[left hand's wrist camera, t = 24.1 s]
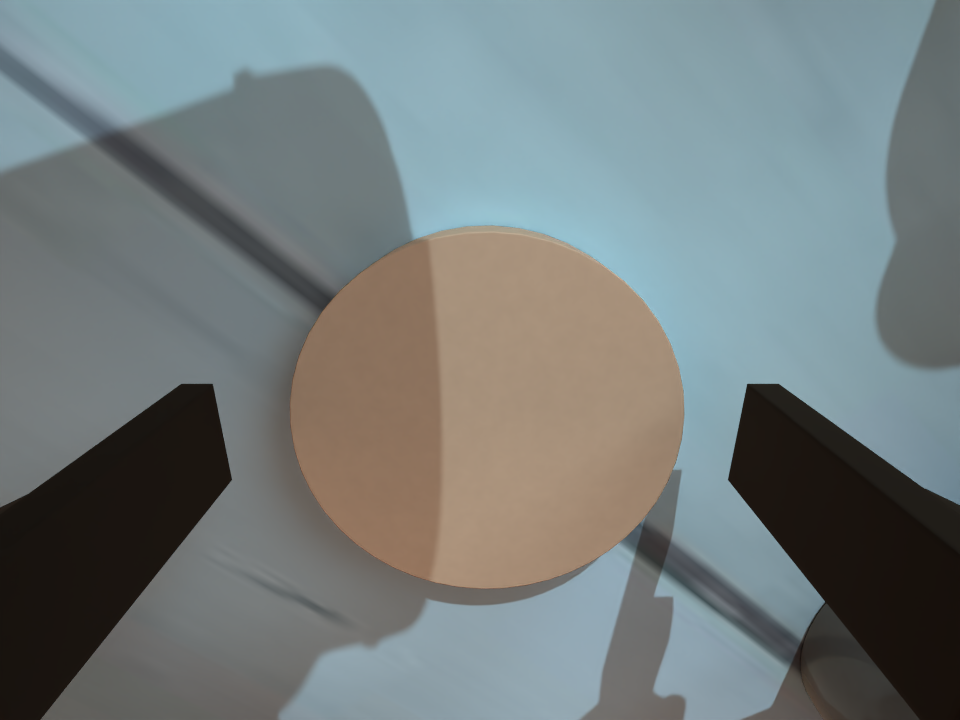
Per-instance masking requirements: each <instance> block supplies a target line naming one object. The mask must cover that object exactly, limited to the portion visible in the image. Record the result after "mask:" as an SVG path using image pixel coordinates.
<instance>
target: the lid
mask: <svg viewBox="0 0 960 720" xmlns="http://www.w3.org/2000/svg"><path fill="white" fill-rule="evenodd" d="M683 423H684V394H683V387H682V381H681V376H680V371H679V366H678V363H677V361H676V358H675V355H674V352H673V349H672V346H671V344H670V342H669V340H668V338H667V336H666V334H665V332H664V330H663V328H662V327H661V325H660V323H659V321H658V320H657V318H656V317H655V316H654V314H653V313H652V312H651V310H650V309H649V307H648V306H647V305H646V303H645V302H644V301H643V300H642V299H641V298H640V297H639V296H638V295H637V293H636V292H635V291H634V290H633V289H632V288H631V287H630V286H629V285H628V284H627V283H626V282H625V281H623V280H622V279H621V278H619V277H618V276H617V275H616V274H614V273H613V272H612V271H610V270H609V269H608V268H606V267H605V266H604V265H602V264H601V263H599V262H598V261H596V260H595V259H594V258H592V257H591V256H589V255H587V254H586V253H584V252H582V251H580V250H578V249H577V248H575V247H573V246H571V245H569V244H568V243H565V242H563V241H560V240H558V239H555V238H552V237H550V236H547V235H545V234H541V233H537V232H533V231H529V230H524V229H520V228H513V227H502V226H467V227H461V228H455V229H450V230H444V231H440V232H436V233H433V234H430V235H427V236H424V237H421V238H418V239H415V240H413V241H411V242H409V243H407V244H405V245H403V246H401V247H399V248H396V249H394V250H393V251H391V252H390V253H388V254H387V255H385V256H384V257H382V258H381V259H379V260H378V261H376V262H375V263H373V264H372V265H370V266H369V267H368V268H366V269H365V270H363V271H362V272H361V273H359V274H358V275H357V276H356V277H355V278H354V279H353V280H351V281H350V282H349V283H348V284H347V285H346V286H345V287H343V288H342V289H341V290H340V291H339V292H338V293H337V295H336V296H335V297H334V298H333V299H332V300H331V302H330V303H329V304H328V305H327V306H326V308H325V309H324V310H323V311H322V313H321V314H320V316H319V317H318V319H317V321H316V322H315V324H314V325H313V327H312V329H311V330H310V332H309V334H308V336H307V338H306V341H305V343H304V345H303V347H302V350H301V352H300V354H299V357H298V361H297V365H296V368H295V372H294V376H293V380H292V388H291V397H290V426H291V432H292V438H293V444H294V449H295V452H296V456H297V459H298V462H299V465H300V468H301V471H302V473H303V475H304V477H305V479H306V481H307V484H308V486H309V488H310V490H311V492H312V493H313V495H314V496H315V498H316V499H317V501H318V503H319V504H320V506H321V507H322V509H323V510H324V511H325V513H326V514H327V515H328V516H329V517H330V518H331V520H332V521H333V522H334V523H335V524H336V525H337V527H338V528H339V529H340V530H341V531H343V532H344V533H345V534H346V535H347V536H348V537H349V538H350V539H351V540H352V541H353V542H354V543H356V544H357V545H359V546H360V547H361V548H363V549H364V550H365V551H367V552H368V553H370V554H371V555H372V556H374V557H376V558H377V559H379V560H381V561H383V562H385V563H386V564H388V565H390V566H392V567H394V568H396V569H398V570H401V571H403V572H405V573H408V574H410V575H412V576H415V577H419V578H422V579H425V580H429V581H432V582H435V583H440V584H446V585H451V586H456V587H466V588H478V589H489V588H508V587H516V586H524V585H529V584H533V583H538V582H542V581H546V580H549V579H552V578H555V577H558V576H561V575H564V574H566V573H569V572H571V571H573V570H575V569H578V568H580V567H582V566H584V565H586V564H588V563H590V562H592V561H593V560H595V559H596V558H598V557H600V556H601V555H603V554H604V553H606V552H607V551H609V550H610V549H612V548H613V547H614V546H615V545H616V544H618V543H619V542H620V541H621V540H623V539H624V538H625V537H626V536H627V535H628V534H629V533H630V532H631V531H632V530H633V529H634V528H635V527H636V526H637V525H638V524H639V523H640V522H641V521H642V520H643V519H644V517H645V516H646V515H647V514H648V512H649V511H650V510H651V508H652V507H653V506H654V504H655V503H656V502H657V500H658V498H659V496H660V495H661V493H662V491H663V489H664V488H665V486H666V484H667V482H668V480H669V477H670V475H671V473H672V470H673V468H674V465H675V463H676V460H677V456H678V452H679V448H680V444H681V440H682V432H683Z"/></svg>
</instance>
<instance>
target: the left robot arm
mask: <svg viewBox="0 0 960 720" xmlns="http://www.w3.org/2000/svg"><path fill="white" fill-rule="evenodd" d="M231 480H232V478H231V473H230V468H229V463H228V458H227V453H226V448H225V443H224V438H223V433H222V428H221V423H220V418H219V413H218V408H217V403H216V398H215V393H214V388H213V384H181V385H179V386H178V387H177V388H175V389H174V390H172V391H171V392H170V393H168V394H167V395H165V396H164V397H163V398H161V399H160V400H158V401H157V402H156V403H154V404H153V405H151V406H150V407H149V408H147V409H146V410H145V411H143V412H142V413H140V414H139V415H138V416H136V417H135V418H133V419H132V420H131V421H129V422H128V423H126V424H125V425H124V426H122V427H121V428H119V429H118V430H117V431H115V432H114V433H113V434H111V435H110V436H108V437H107V438H106V439H104V440H103V441H101V442H100V443H99V444H97V445H96V446H94V447H93V448H92V449H90V450H89V451H87V452H86V453H85V454H83V455H82V456H81V457H79V458H78V459H76V460H75V461H74V462H72V463H71V464H69V465H68V466H67V467H65V468H64V469H62V470H61V471H60V472H58V473H57V474H55V475H54V476H53V477H51V478H50V479H49V480H47V481H46V482H44V483H43V484H42V485H40V486H39V487H37V488H36V489H35V490H33V491H32V492H30V493H29V494H27V495H25V496H23V497H21V498H19V499H17V500H15V501H13V502H11V503H9V504H7V505H5V506H3V507H0V720H40V719H41V718H42V717H43V716H44V714H45V713H46V712H47V711H48V709H49V708H50V707H51V706H52V704H53V703H54V702H55V701H56V699H57V698H58V697H59V696H60V694H61V693H62V692H63V691H64V689H65V688H66V687H67V686H68V684H69V683H70V682H71V681H72V679H73V678H74V677H75V676H76V674H77V673H78V672H79V671H80V669H81V668H82V667H83V666H84V664H85V663H86V662H87V661H88V659H89V658H90V657H91V656H92V654H93V653H94V652H95V651H96V649H97V648H98V647H99V646H100V644H101V643H102V642H103V641H104V639H105V638H106V637H107V636H108V634H109V633H110V632H111V631H112V629H113V628H114V627H115V626H116V624H117V623H118V622H119V621H120V619H121V618H122V617H123V616H124V614H125V613H126V612H127V611H128V609H129V608H130V607H131V606H132V604H133V603H134V602H135V601H136V599H137V598H138V597H139V596H140V594H141V593H142V592H143V590H144V589H145V588H146V587H147V585H148V584H149V583H150V582H151V580H152V579H153V578H154V577H155V575H156V574H157V573H158V572H159V570H160V569H161V568H162V567H163V565H164V564H165V563H166V562H167V560H168V559H169V558H170V557H171V555H172V554H173V553H174V552H175V550H176V549H177V548H178V547H179V545H180V544H181V543H182V542H183V540H184V539H185V538H186V537H187V535H188V534H189V533H190V532H191V530H192V529H193V528H194V527H195V525H196V524H197V523H198V522H199V520H200V519H201V518H202V517H203V515H204V514H205V513H206V512H207V510H208V509H209V508H210V507H211V505H212V504H213V503H214V502H215V500H216V499H217V498H218V497H219V495H220V494H221V493H222V492H223V490H224V489H225V488H226V487H227V485H228V484H229V483H230V482H231ZM728 480H729V482H730V483H731V484H732V485H733V487H734V488H735V489H736V490H737V492H738V493H739V494H740V495H741V497H742V498H743V499H744V500H745V502H746V503H747V504H748V505H749V507H750V508H751V509H752V510H753V512H754V513H755V514H756V515H757V517H758V518H759V519H760V520H761V522H762V523H763V524H764V525H765V527H766V528H767V529H768V530H769V532H770V533H771V534H772V535H773V537H774V538H775V539H776V540H777V542H778V543H779V544H780V545H781V547H782V548H783V549H784V550H785V552H786V553H787V554H788V555H789V557H790V558H791V559H792V560H793V562H794V563H795V564H796V565H797V567H798V568H799V569H800V570H801V572H802V573H803V574H804V575H805V577H806V578H807V579H808V580H809V582H810V583H811V584H812V585H813V587H814V588H815V589H816V590H817V592H818V593H819V594H820V596H821V597H822V598H823V599H824V601H825V602H826V603H827V604H828V606H829V607H830V608H831V609H832V611H833V612H834V613H835V614H836V616H837V617H838V618H839V619H840V621H841V622H842V623H843V624H844V626H845V627H846V628H847V629H848V631H849V632H850V633H851V634H852V636H853V637H854V638H855V639H856V641H857V642H858V643H859V644H860V646H861V647H862V648H863V649H864V651H865V652H866V653H867V654H868V656H869V657H870V658H871V659H872V661H873V662H874V663H875V664H876V666H877V667H878V668H879V669H880V671H881V672H882V673H883V674H884V676H885V677H886V678H887V679H888V681H889V682H890V683H891V684H892V686H893V687H894V688H895V689H896V691H897V692H898V693H899V694H900V696H901V697H902V698H903V699H904V701H905V702H906V703H907V704H908V706H909V707H910V708H911V709H912V711H913V712H914V713H915V714H916V716H917V717H918V718H919V719H920V720H960V505H958V504H956V503H954V502H952V501H950V500H948V499H946V498H944V497H941V496H939V495H937V494H935V493H933V492H931V491H929V490H927V489H924V488H923V487H921V486H920V485H918V484H917V483H916V482H914V481H913V480H911V479H910V478H909V477H907V476H906V475H905V474H903V473H902V472H900V471H899V470H898V469H896V468H895V467H893V466H892V465H891V464H889V463H888V462H886V461H885V460H884V459H882V458H881V457H879V456H878V455H877V454H875V453H874V452H873V451H871V450H870V449H868V448H867V447H866V446H864V445H863V444H861V443H860V442H859V441H857V440H856V439H854V438H853V437H852V436H850V435H849V434H847V433H846V432H845V431H843V430H842V429H841V428H839V427H838V426H836V425H835V424H834V423H832V422H831V421H829V420H828V419H827V418H825V417H824V416H822V415H821V414H820V413H818V412H817V411H815V410H814V409H813V408H811V407H810V406H809V405H807V404H806V403H804V402H803V401H802V400H800V399H799V398H797V397H796V396H795V395H793V394H792V393H790V392H789V391H788V390H786V389H785V388H783V387H782V386H781V385H779V384H747V388H746V393H745V398H744V403H743V408H742V413H741V418H740V423H739V428H738V433H737V438H736V443H735V448H734V453H733V458H732V463H731V468H730V473H729V478H728Z"/></svg>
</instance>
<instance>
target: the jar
mask: <svg viewBox="0 0 960 720" xmlns="http://www.w3.org/2000/svg"><path fill="white" fill-rule="evenodd" d="M800 667H801V675H802V681H803V684H804V687H805V690H806V692H807V694H808V696H809V697H810V699H811V701H812V703H813V704H814V706H815V707H816V709H817V710H818V712H819V714H820V715H821V717H822V718H823V720H920V719H919V718H918V717H917V716H916V714H915V713H914V712H913V711H912V709H911V708H910V707H909V706H908V704H907V703H906V702H905V701H904V699H903V698H902V697H901V696H900V694H899V693H898V692H897V691H896V689H895V688H894V687H893V686H892V684H891V683H890V682H889V681H888V679H887V678H886V677H885V676H884V674H883V673H882V672H881V671H880V669H879V668H878V667H877V666H876V664H875V663H874V662H873V661H872V659H871V658H870V657H869V656H868V654H867V653H866V652H865V651H864V649H863V648H862V647H861V646H860V644H859V643H858V642H857V641H856V639H855V638H854V637H853V636H852V634H851V633H850V632H849V631H848V629H847V628H846V627H845V626H844V624H843V623H842V622H841V621H840V619H839V618H838V617H837V616H836V614H835V613H834V612H833V611H832V609H831V608H830V607H829V606H828V604H827V603H826V604H825V605H824V606H823V608H822V609H821V610H820V611H819V613H818V614H817V616H816V617H815V619H814V621H813V623H812V624H811V626H810V628H809V630H808V633H807V635H806V638H805V640H804V644H803V648H802V652H801V665H800Z"/></svg>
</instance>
